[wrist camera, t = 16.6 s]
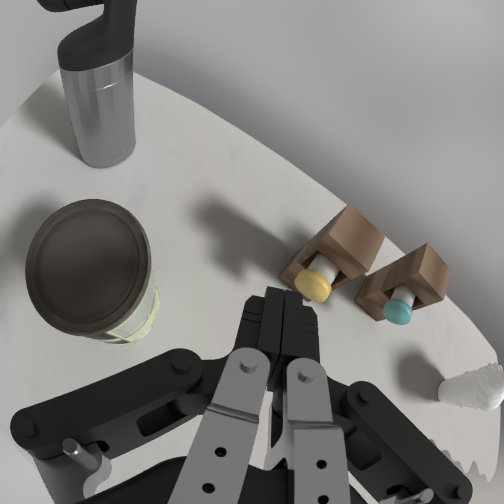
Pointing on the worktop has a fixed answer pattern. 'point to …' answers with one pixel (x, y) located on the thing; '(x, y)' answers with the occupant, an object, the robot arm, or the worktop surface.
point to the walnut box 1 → (339, 248)
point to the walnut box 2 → (406, 281)
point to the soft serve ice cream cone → (475, 388)
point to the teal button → (399, 305)
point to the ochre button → (317, 278)
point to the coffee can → (93, 273)
